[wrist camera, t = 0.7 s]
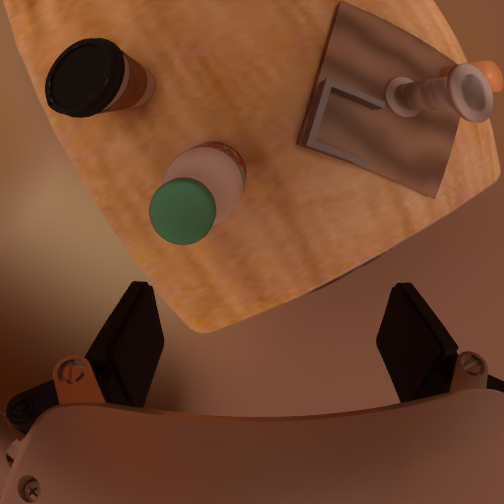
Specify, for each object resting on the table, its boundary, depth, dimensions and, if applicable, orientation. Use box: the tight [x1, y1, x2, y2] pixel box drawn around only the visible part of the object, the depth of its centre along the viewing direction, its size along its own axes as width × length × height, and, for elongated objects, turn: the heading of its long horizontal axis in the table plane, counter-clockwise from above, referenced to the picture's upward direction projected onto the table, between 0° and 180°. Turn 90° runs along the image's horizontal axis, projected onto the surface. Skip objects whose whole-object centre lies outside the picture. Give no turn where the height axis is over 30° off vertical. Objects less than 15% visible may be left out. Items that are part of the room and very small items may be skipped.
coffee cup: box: [45, 38, 155, 118], centre depth 25 cm, size 8×8×15 cm
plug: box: [440, 60, 503, 92], centre depth 23 cm, size 4×4×10 cm
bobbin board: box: [296, 1, 493, 199], centre depth 24 cm, size 22×22×17 cm
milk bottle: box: [149, 141, 246, 245], centre depth 27 cm, size 8×8×20 cm
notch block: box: [302, 78, 386, 167], centre depth 30 cm, size 8×8×4 cm
